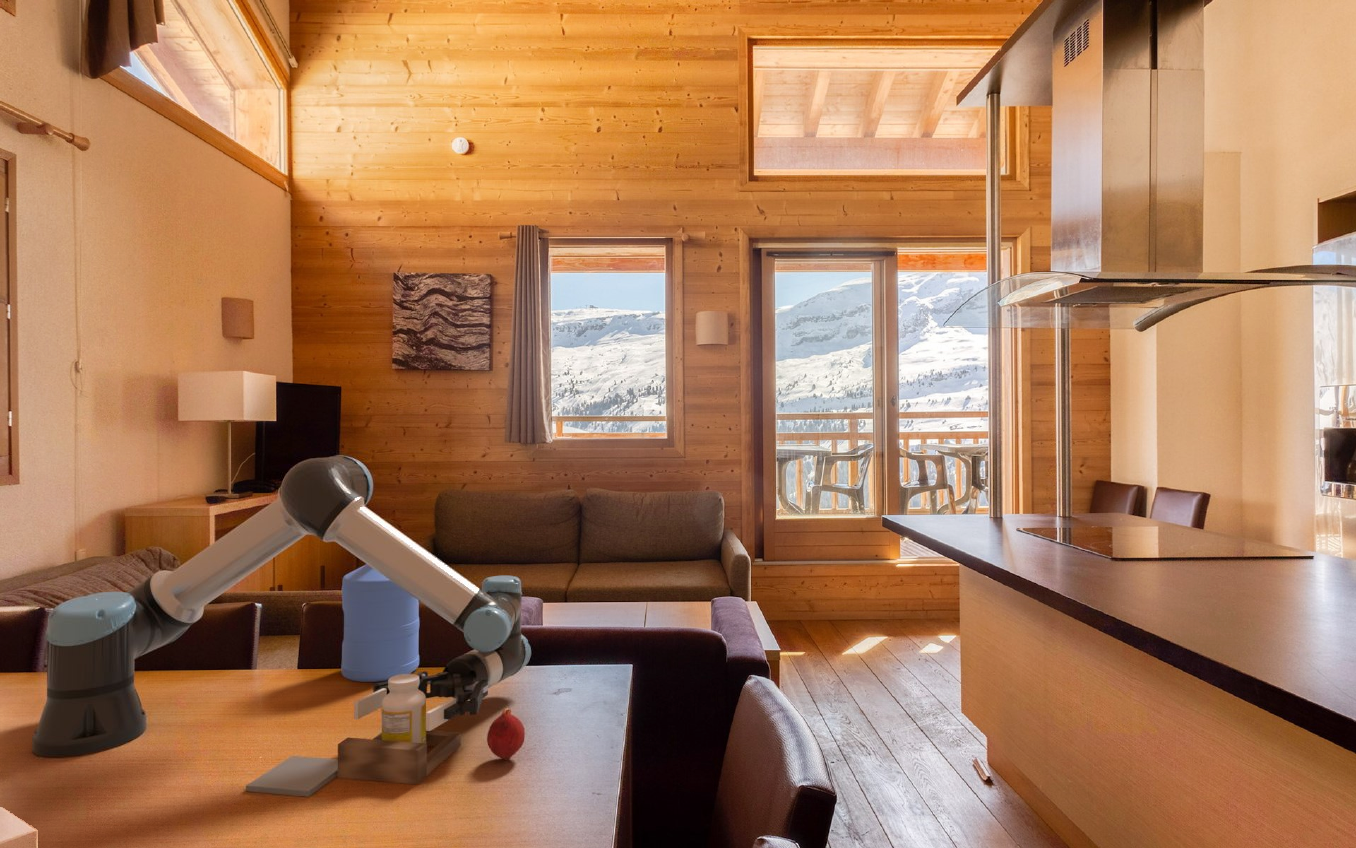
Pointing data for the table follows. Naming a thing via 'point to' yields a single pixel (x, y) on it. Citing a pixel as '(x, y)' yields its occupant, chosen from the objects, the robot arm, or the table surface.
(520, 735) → the onion
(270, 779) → the slate coaster
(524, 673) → the table surface
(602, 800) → the table surface
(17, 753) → the table surface
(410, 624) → the water jug
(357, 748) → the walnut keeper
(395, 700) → the supplement bottle
